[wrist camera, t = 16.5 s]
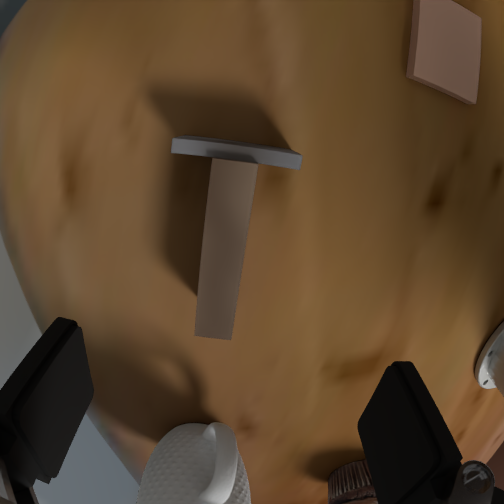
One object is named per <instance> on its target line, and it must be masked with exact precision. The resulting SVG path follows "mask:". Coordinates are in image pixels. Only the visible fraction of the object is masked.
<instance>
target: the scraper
mask: <svg viewBox="0 0 504 504" xmlns="http://www.w3.org/2000/svg"><path fill="white" fill-rule="evenodd" d="M171 153H179V154H189V155H198V156H207V157H213V158H212V165H211V173H210V181H209V189H208V197H207V206H206V214H205V223H204V233H203V242H202V252H201V262H200V273H199V284H198V296H197V308H196V321H195V335H194V336H200V337H208V338H217V339H225V340H231V338H232V331H233V325H234V318H235V312H236V305H237V298H238V292H239V285H240V279H241V272H242V266H243V259H244V253H245V247H246V240H247V234H248V227H249V221H250V215H251V208H252V202H253V196H254V189H255V183H256V177H257V170H258V163H260V164H267V165H273V166H279V167H285V168H291V169H297V170H300V167H301V162H302V155H300V154H299V153H297V152H295V151H293V150H291V149H285V148H279V147H273V146H267V145H260V144H254V143H247V142H240V141H232V140H224V139H216V138H207V137H198V136H188V135H183V136H179V137H175V138H173V139H172V148H171Z"/></svg>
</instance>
